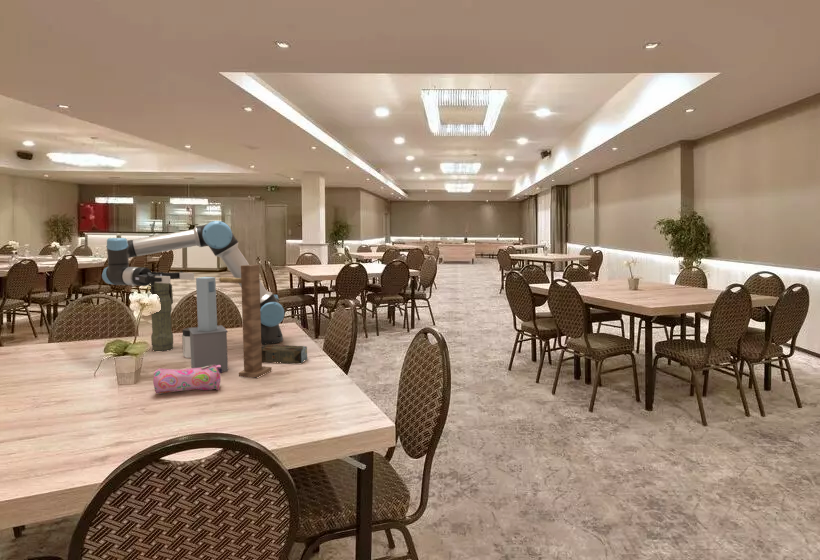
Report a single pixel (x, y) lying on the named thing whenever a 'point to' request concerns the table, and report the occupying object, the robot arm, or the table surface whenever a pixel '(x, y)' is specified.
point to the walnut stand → (250, 320)
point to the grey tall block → (206, 303)
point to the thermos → (162, 318)
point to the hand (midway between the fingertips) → (182, 278)
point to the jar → (186, 342)
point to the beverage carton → (284, 353)
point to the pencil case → (187, 379)
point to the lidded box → (209, 348)
